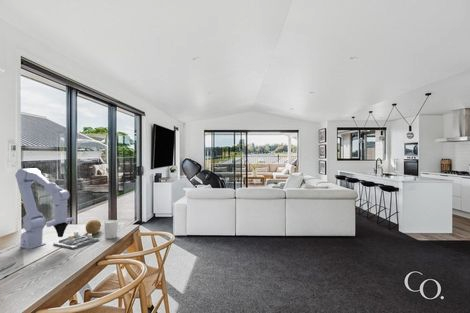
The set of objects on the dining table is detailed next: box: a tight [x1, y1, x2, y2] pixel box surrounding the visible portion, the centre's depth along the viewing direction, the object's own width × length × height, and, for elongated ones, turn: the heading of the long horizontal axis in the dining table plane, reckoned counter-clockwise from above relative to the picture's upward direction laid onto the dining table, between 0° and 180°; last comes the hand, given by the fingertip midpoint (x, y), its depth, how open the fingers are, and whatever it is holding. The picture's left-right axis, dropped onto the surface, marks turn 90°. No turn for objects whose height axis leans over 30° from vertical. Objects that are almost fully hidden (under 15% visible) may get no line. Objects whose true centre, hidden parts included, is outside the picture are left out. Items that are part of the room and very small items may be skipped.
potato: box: [85, 219, 102, 236], centre depth 181 cm, size 9×16×9 cm, turn 17°
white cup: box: [104, 219, 119, 239], centre depth 174 cm, size 8×8×10 cm
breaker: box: [67, 235, 75, 243], centre depth 158 cm, size 3×2×4 cm
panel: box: [53, 231, 100, 250], centre depth 162 cm, size 17×16×5 cm
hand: (60, 236), depth 152 cm, fingers closed
